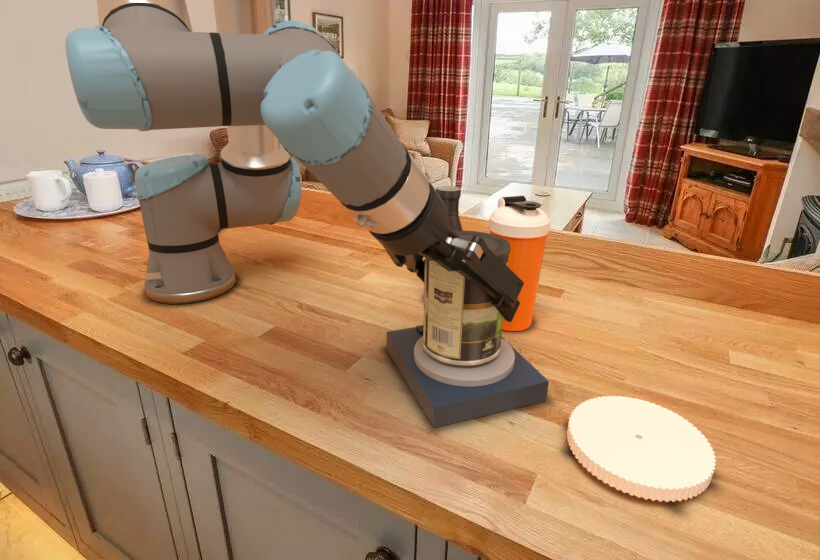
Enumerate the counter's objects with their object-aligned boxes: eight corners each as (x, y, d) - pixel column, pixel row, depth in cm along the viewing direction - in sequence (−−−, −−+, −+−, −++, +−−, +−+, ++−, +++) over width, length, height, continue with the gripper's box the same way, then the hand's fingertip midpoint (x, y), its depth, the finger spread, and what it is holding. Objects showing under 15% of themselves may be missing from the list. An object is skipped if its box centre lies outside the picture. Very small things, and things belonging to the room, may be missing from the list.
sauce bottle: (449, 310, 83) (455, 194, 75) (418, 301, 86) (420, 189, 78) (466, 296, 88) (473, 187, 80) (436, 289, 91) (440, 182, 83)
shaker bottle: (504, 339, 74) (516, 210, 66) (470, 315, 82) (478, 196, 74) (549, 327, 78) (566, 203, 70) (513, 304, 85) (525, 191, 77)
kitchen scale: (386, 349, 71) (386, 325, 70) (479, 333, 76) (480, 310, 74) (433, 428, 56) (434, 399, 54) (546, 401, 60) (550, 374, 59)
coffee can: (502, 330, 68) (511, 232, 62) (499, 371, 59) (510, 260, 53) (428, 322, 70) (431, 227, 64) (414, 361, 60) (416, 253, 55)
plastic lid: (735, 467, 51) (742, 448, 50) (661, 535, 43) (668, 514, 42) (614, 399, 61) (618, 382, 60) (538, 443, 54) (541, 425, 53)
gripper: (301, 214, 53) (398, 300, 70) (479, 265, 39) (545, 355, 57) (336, 158, 54) (422, 255, 72) (518, 189, 41) (570, 299, 58)
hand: (476, 299), depth 64 cm, fingers closed on coffee can, 10 cm apart
